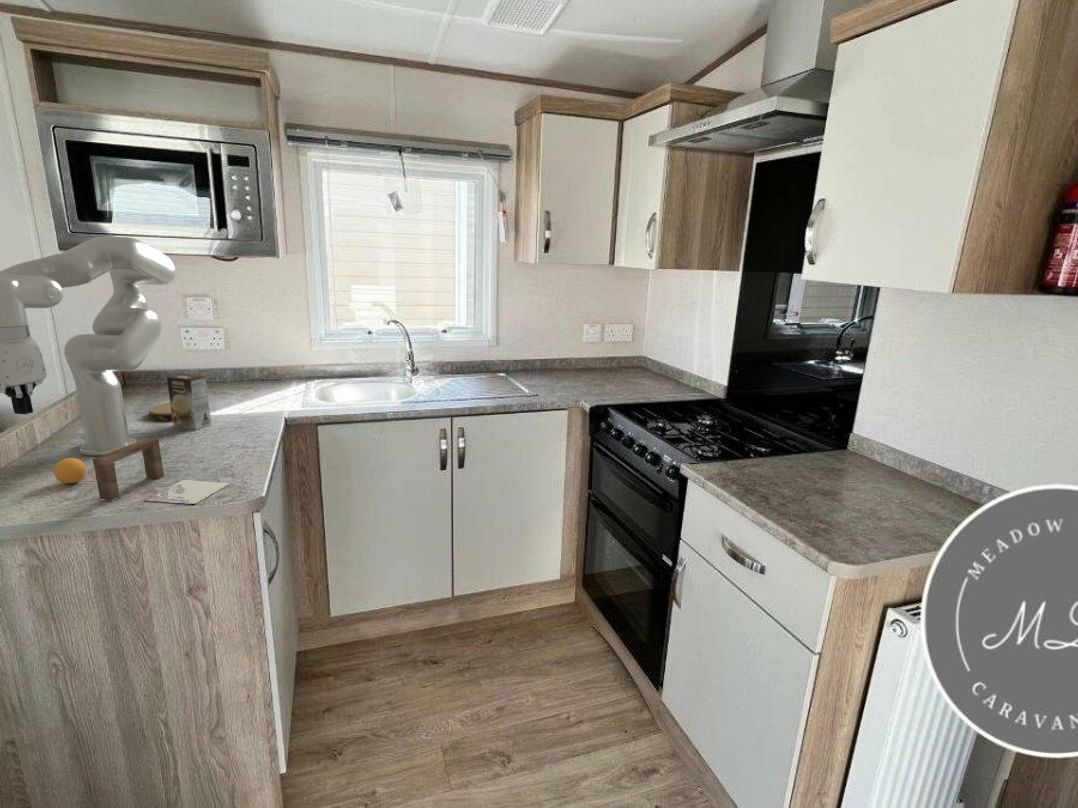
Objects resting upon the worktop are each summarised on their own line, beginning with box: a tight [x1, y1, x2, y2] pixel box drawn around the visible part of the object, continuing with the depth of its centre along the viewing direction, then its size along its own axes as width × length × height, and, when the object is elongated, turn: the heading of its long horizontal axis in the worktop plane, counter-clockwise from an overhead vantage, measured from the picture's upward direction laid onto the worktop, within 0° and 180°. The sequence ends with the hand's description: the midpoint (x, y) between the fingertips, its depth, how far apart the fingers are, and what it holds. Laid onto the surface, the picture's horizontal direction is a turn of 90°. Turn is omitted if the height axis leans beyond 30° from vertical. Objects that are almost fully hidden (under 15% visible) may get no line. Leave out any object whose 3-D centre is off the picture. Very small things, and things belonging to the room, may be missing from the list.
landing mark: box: [155, 479, 231, 504], centre depth 132 cm, size 12×12×1 cm
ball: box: [53, 457, 88, 484], centre depth 135 cm, size 6×6×6 cm
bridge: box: [92, 437, 165, 500], centre depth 132 cm, size 3×15×10 cm, turn 172°
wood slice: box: [148, 401, 173, 422], centre depth 191 cm, size 16×16×3 cm
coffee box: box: [166, 372, 212, 431], centre depth 178 cm, size 9×6×16 cm
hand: (23, 413), depth 132 cm, fingers closed
